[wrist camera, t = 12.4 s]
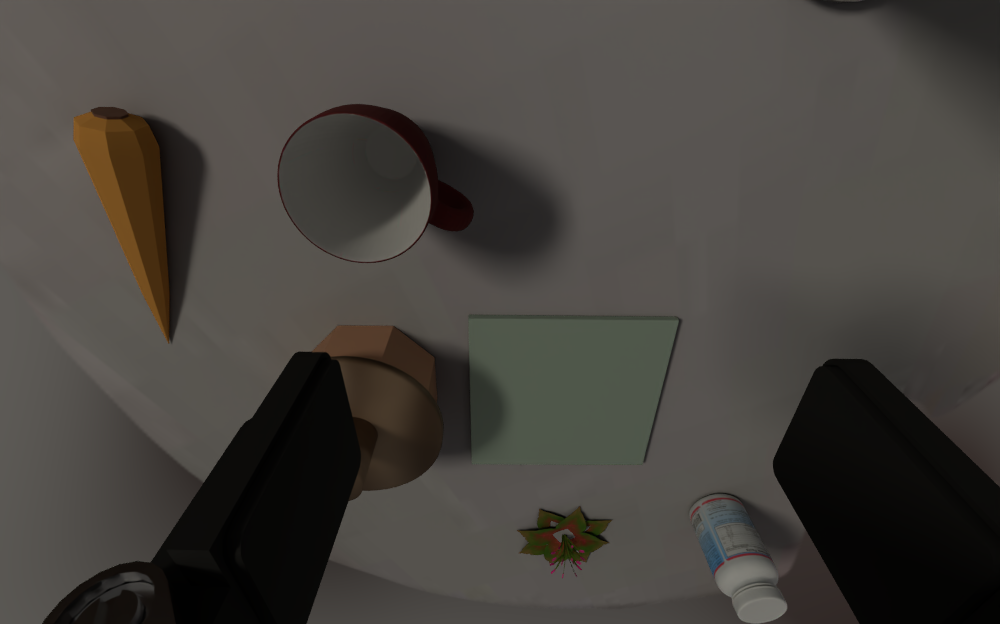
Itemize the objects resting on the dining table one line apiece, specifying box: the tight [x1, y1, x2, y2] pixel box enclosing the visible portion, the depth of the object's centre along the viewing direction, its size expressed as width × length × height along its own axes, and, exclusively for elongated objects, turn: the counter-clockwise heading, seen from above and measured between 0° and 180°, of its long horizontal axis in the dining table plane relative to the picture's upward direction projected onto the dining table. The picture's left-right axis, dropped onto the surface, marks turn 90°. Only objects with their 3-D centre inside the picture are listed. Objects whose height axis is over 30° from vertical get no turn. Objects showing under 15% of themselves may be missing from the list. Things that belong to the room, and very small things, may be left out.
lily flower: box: [517, 507, 612, 578], centre depth 54 cm, size 12×12×5 cm
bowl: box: [312, 326, 437, 403], centre depth 41 cm, size 12×12×6 cm
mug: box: [278, 104, 474, 263], centre depth 29 cm, size 10×8×10 cm
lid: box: [331, 356, 443, 501], centre depth 35 cm, size 14×14×6 cm
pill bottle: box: [689, 494, 787, 623], centre depth 49 cm, size 6×6×11 cm
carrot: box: [74, 107, 169, 343], centre depth 35 cm, size 20×4×4 cm, turn 167°
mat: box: [468, 315, 679, 465], centre depth 44 cm, size 18×18×1 cm
